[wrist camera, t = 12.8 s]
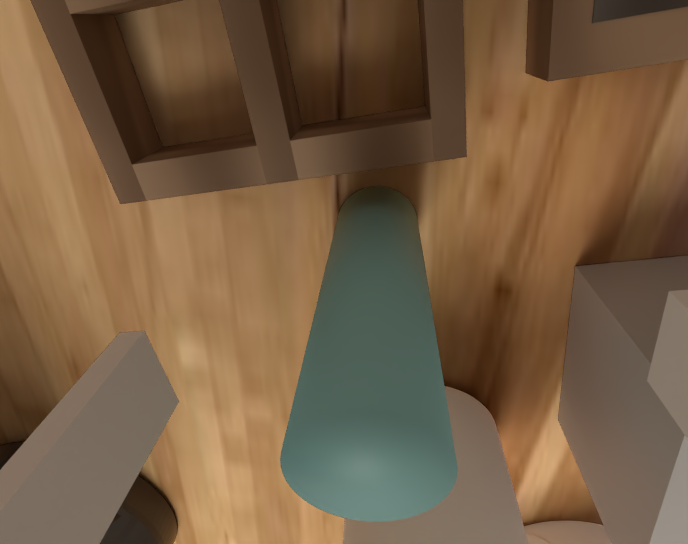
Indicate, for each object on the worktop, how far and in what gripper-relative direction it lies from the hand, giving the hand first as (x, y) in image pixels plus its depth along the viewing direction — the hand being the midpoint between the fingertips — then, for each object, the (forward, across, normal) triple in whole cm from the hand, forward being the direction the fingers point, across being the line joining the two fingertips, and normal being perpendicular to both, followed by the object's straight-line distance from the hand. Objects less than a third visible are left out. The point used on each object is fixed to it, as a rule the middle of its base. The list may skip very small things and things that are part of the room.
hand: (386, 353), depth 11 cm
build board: (+9, -4, +7) cm, 12 cm away
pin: (+9, -1, 0) cm, 9 cm away
